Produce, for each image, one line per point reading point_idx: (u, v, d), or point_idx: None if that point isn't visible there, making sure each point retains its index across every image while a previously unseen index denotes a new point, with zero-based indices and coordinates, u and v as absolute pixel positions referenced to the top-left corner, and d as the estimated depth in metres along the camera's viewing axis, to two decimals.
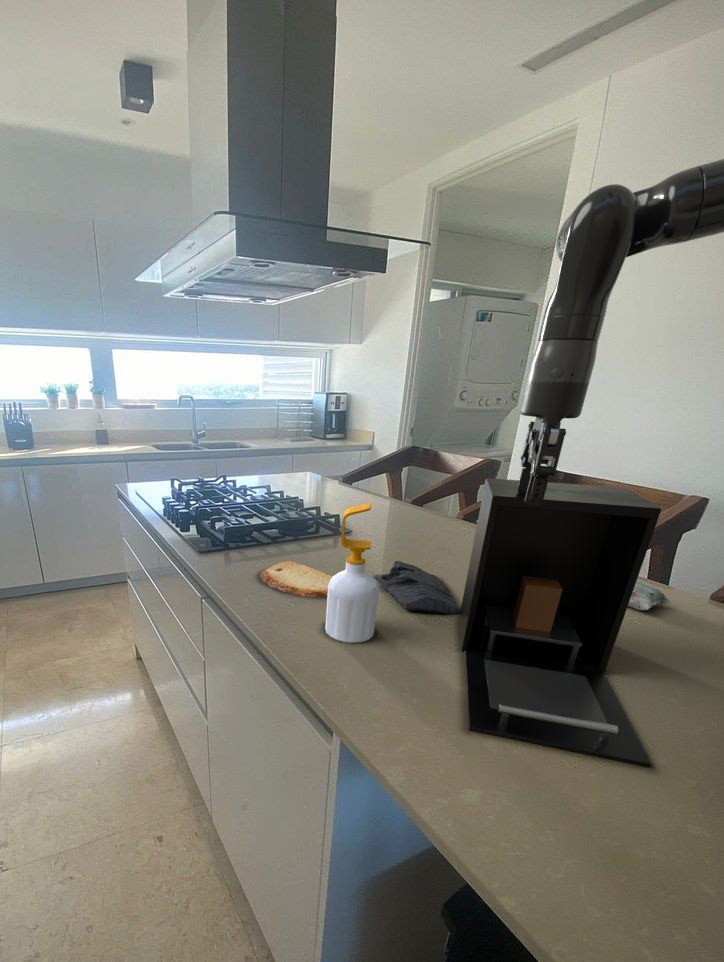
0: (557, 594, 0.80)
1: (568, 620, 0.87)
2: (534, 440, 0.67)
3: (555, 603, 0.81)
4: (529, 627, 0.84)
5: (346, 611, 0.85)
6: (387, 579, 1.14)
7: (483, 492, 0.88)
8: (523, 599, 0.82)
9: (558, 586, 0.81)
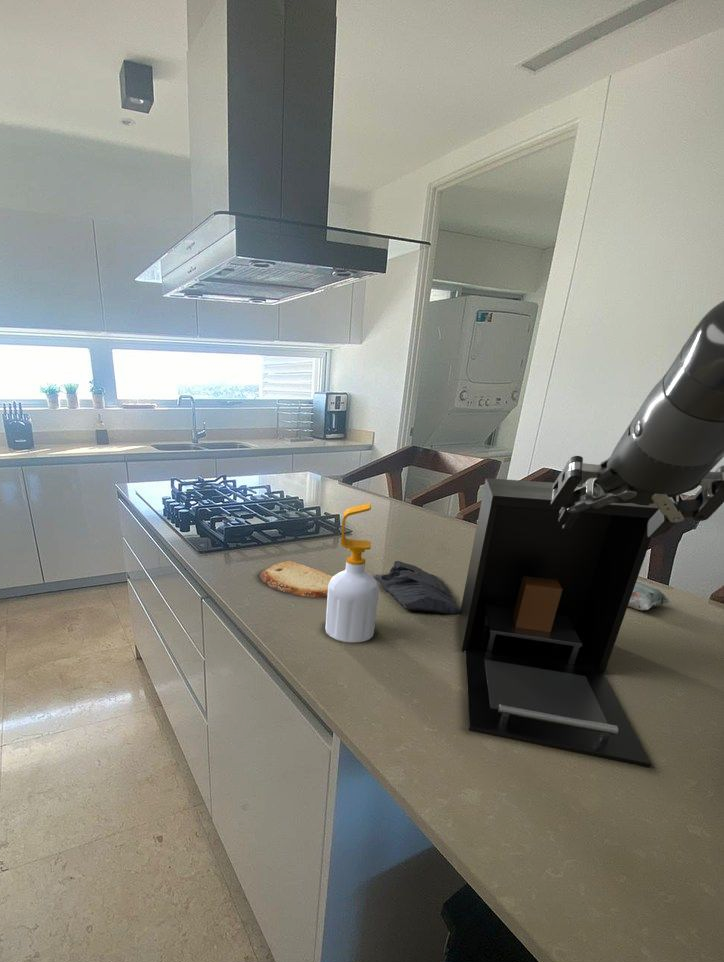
0: (557, 594, 0.80)
1: (568, 620, 0.87)
2: (670, 497, 0.47)
3: (555, 603, 0.81)
4: (529, 627, 0.84)
5: (346, 611, 0.85)
6: (387, 579, 1.14)
7: (483, 492, 0.88)
8: (523, 599, 0.82)
9: (558, 586, 0.81)
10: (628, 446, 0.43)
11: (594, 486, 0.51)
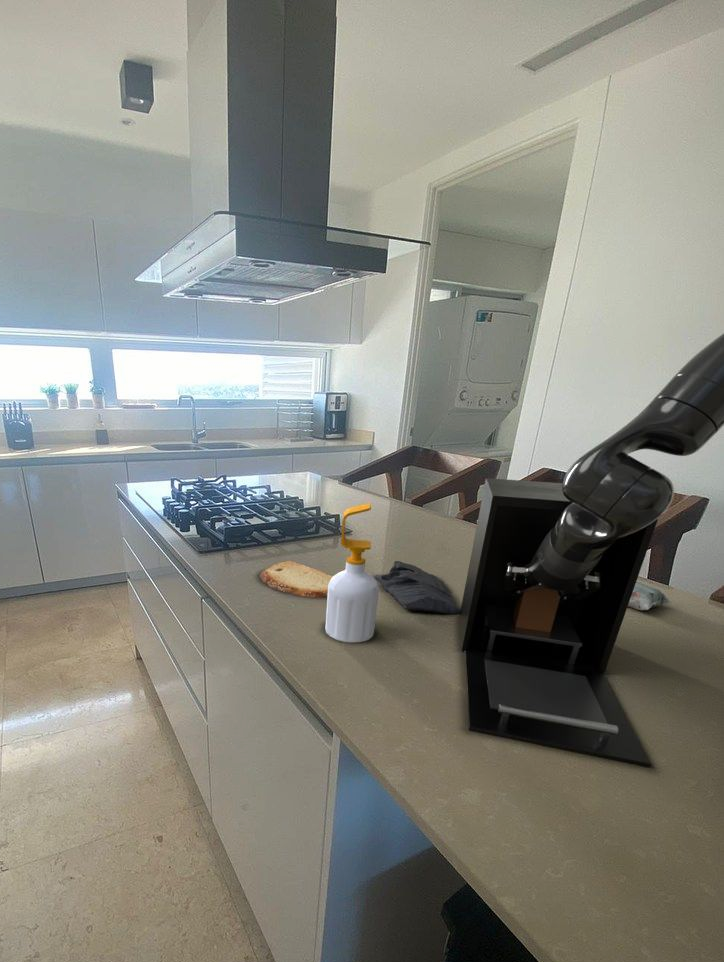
0: (557, 594, 0.80)
1: (568, 620, 0.87)
2: None
3: (555, 603, 0.81)
4: (529, 627, 0.84)
5: (346, 611, 0.85)
6: (387, 579, 1.14)
7: (483, 492, 0.88)
8: (523, 599, 0.82)
9: None
10: (537, 563, 0.72)
11: None
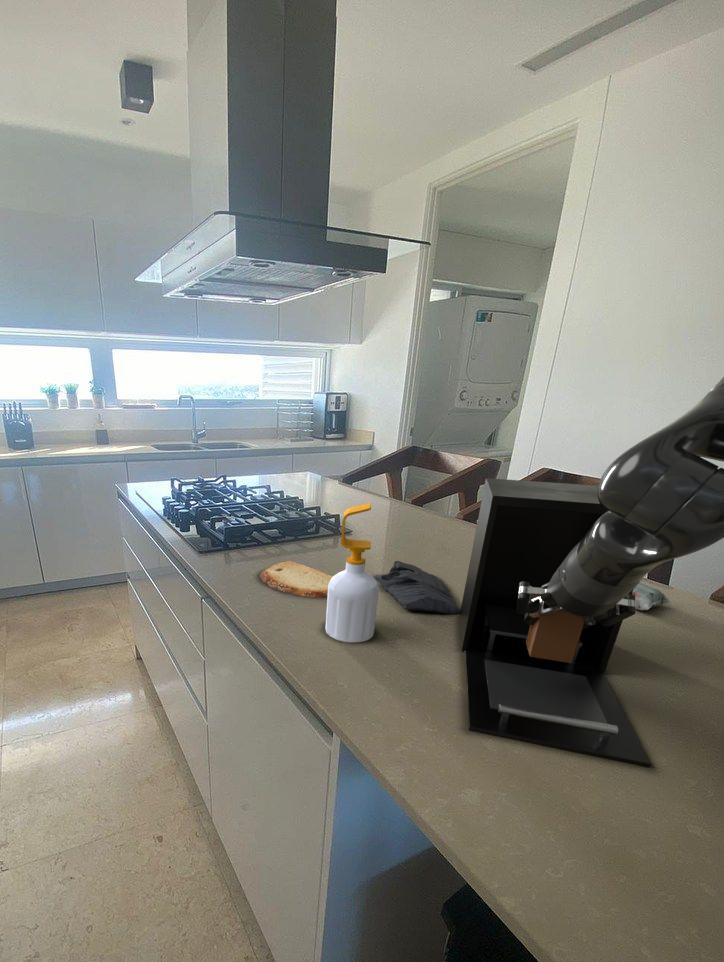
0: (580, 619, 0.67)
1: None
2: None
3: (578, 629, 0.68)
4: (546, 657, 0.71)
5: (346, 611, 0.85)
6: (387, 579, 1.14)
7: (483, 492, 0.88)
8: (539, 624, 0.69)
9: None
10: (559, 584, 0.59)
11: None
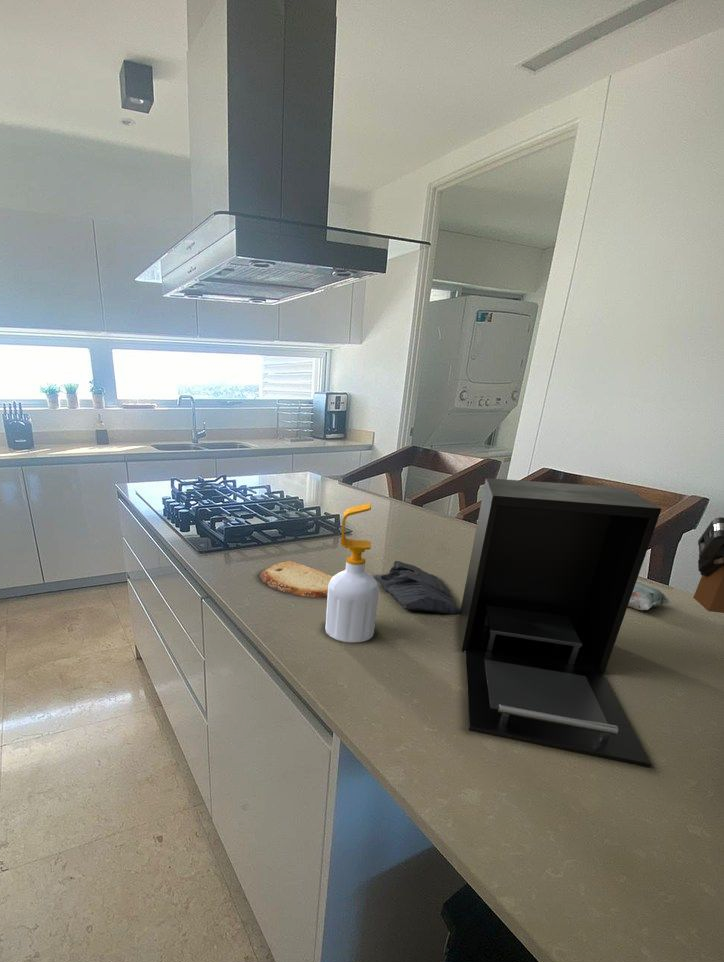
0: None
1: (568, 620, 0.87)
2: None
3: None
4: None
5: (346, 611, 0.85)
6: (387, 579, 1.14)
7: (483, 492, 0.88)
8: None
9: None
10: None
11: None
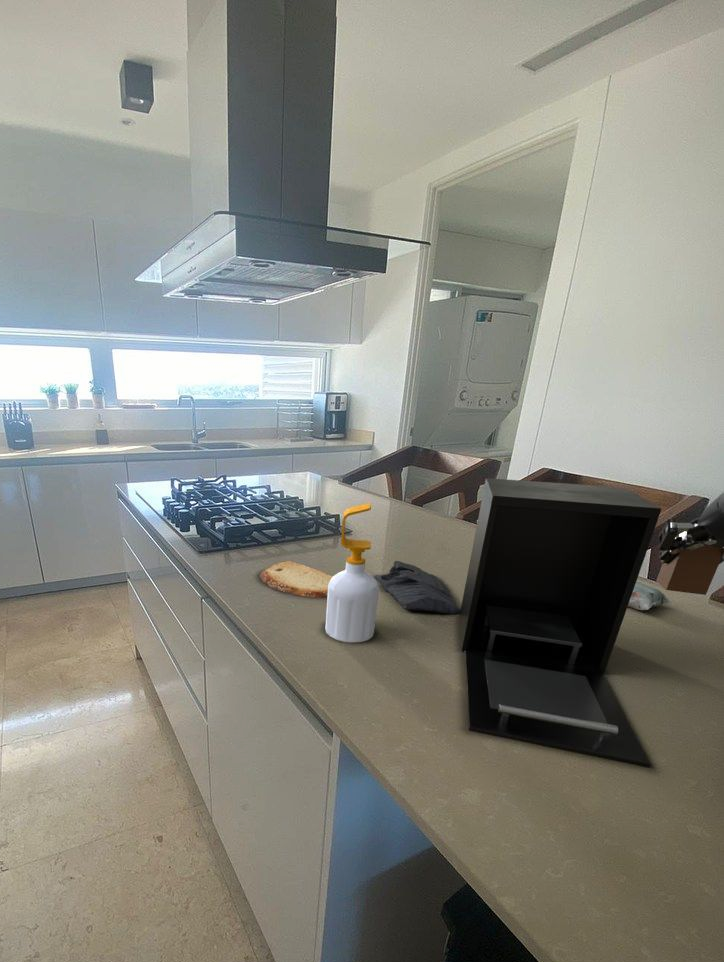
0: (719, 553, 0.76)
1: (568, 620, 0.87)
2: None
3: (715, 563, 0.77)
4: (682, 590, 0.79)
5: (346, 611, 0.85)
6: (387, 579, 1.14)
7: (483, 492, 0.88)
8: (679, 559, 0.78)
9: None
10: (717, 514, 0.68)
11: (686, 535, 0.76)
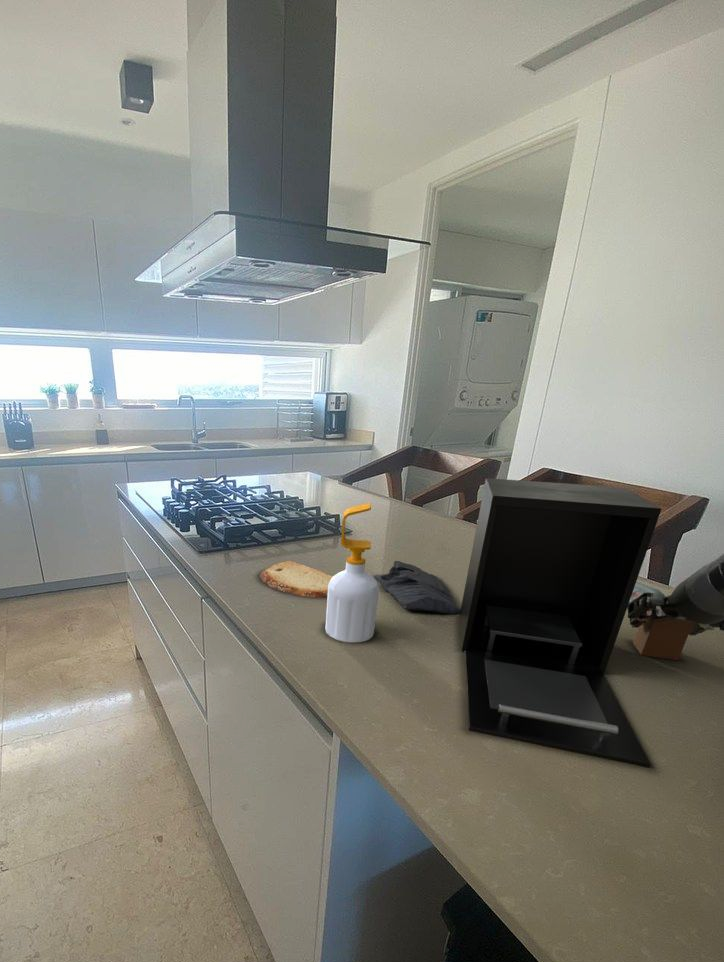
0: (688, 626, 0.81)
1: (568, 620, 0.87)
2: None
3: (685, 635, 0.82)
4: None
5: (346, 611, 0.85)
6: (387, 579, 1.14)
7: (483, 492, 0.88)
8: (651, 630, 0.83)
9: None
10: (684, 597, 0.73)
11: (656, 607, 0.81)
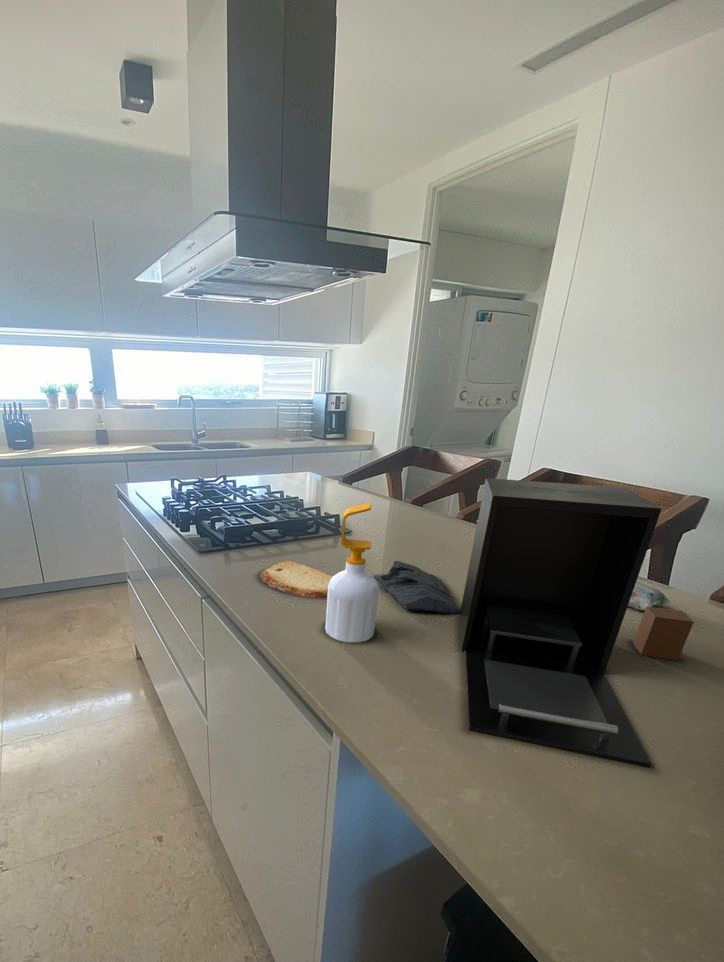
0: (688, 626, 0.81)
1: (568, 620, 0.87)
2: None
3: (685, 635, 0.82)
4: None
5: (346, 611, 0.85)
6: (386, 579, 1.14)
7: (483, 492, 0.88)
8: (651, 630, 0.83)
9: (688, 618, 0.82)
10: None
11: None
